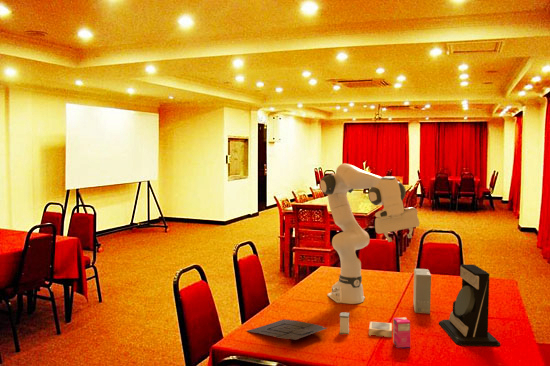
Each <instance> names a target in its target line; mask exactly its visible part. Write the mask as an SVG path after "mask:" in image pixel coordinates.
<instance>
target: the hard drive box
mask: <svg viewBox="0 0 550 366" xmlns="http://www.w3.org/2000/svg"><path fill="white" fill-rule="evenodd" d="M431 289H432V274H431V272H430V270H429V269H428V268H427V269H426V268H414V269H413V297H412V298H413V300H412V301H413V302H412V304H413V309H414V313H417V314H431V300H432V299H431V298H432V297H431V294H432V293H431V292H432V291H431Z"/></svg>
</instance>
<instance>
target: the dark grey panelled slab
mask: <svg viewBox="0 0 550 366" xmlns="http://www.w3.org/2000/svg"><path fill="white" fill-rule="evenodd" d="M327 329H328V327H324V326H323V325H320V324H315V323H311V322H304V321H300V320H299V321H298V320H293V319H292V320H291V319H280V320H277V321H274V322H272V323H268V324H265V325H261V326H259V327H255V328H252V329H248V330H247V332H250V333H254V334H261V335H265V336H271V337H275V338H278V339H284V340H289V339H290V340H295V341H296V340H299V339H301V338H304V337H308V336H310V335H311V334H312V335H313V334H315V333H319V332H320V331H321V332H322V331H324V330H327Z"/></svg>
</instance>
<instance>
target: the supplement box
mask: <svg viewBox="0 0 550 366" xmlns="http://www.w3.org/2000/svg"><path fill="white" fill-rule="evenodd" d="M392 322H393V323H392V338H393V339H392V340H393V342H392V343H394V344H395V345H396V346H395V345H394V346H395V347H396V348H397V349H398V348H402V349H411V321H410V320H409V319H407V317H406V316H404V317H393V321H392Z"/></svg>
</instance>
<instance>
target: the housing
mask: <svg viewBox="0 0 550 366" xmlns="http://www.w3.org/2000/svg"><path fill="white" fill-rule="evenodd" d="M343 334H348V335H349V334H350V312H345V311H344V312H340V313H339V334H338V335H343Z"/></svg>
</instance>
